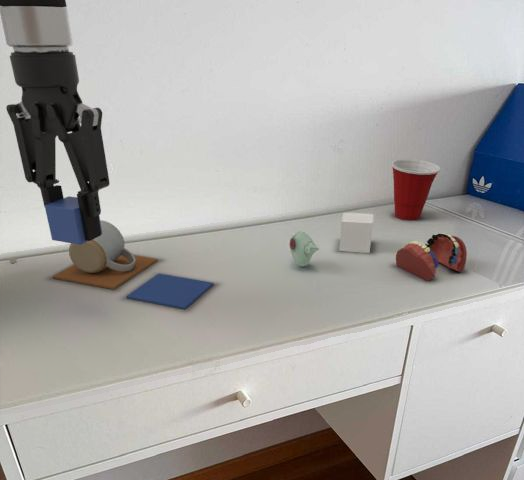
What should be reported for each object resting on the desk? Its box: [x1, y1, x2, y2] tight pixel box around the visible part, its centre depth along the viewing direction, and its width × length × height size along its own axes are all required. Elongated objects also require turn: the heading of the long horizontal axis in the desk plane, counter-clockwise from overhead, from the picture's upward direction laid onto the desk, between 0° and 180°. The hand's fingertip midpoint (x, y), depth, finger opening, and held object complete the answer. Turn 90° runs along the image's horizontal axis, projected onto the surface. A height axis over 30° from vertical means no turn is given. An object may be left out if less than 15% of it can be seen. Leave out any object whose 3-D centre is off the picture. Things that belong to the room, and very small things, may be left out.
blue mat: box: [126, 273, 215, 310], centre depth 87 cm, size 11×10×1 cm
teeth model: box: [395, 232, 468, 282], centre depth 93 cm, size 8×6×12 cm
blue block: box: [44, 195, 102, 245], centre depth 74 cm, size 5×5×5 cm
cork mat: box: [52, 254, 158, 290], centre depth 95 cm, size 13×14×1 cm
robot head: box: [289, 230, 320, 268], centre depth 94 cm, size 8×4×7 cm, turn 25°
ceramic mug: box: [68, 219, 136, 273], centre depth 93 cm, size 11×8×8 cm
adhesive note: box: [338, 212, 374, 254], centre depth 103 cm, size 6×6×6 cm
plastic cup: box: [390, 158, 441, 221], centre depth 118 cm, size 11×11×12 cm
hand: (77, 234), depth 75 cm, fingers closed on blue block, 5 cm apart
